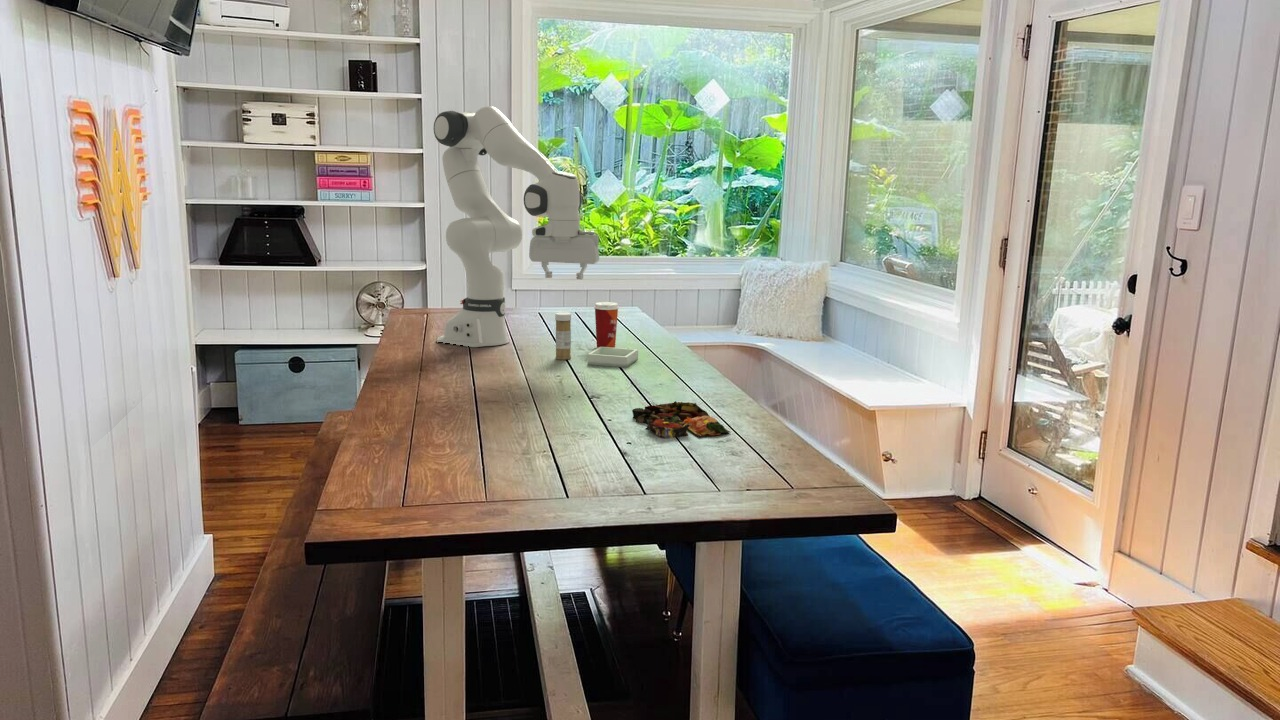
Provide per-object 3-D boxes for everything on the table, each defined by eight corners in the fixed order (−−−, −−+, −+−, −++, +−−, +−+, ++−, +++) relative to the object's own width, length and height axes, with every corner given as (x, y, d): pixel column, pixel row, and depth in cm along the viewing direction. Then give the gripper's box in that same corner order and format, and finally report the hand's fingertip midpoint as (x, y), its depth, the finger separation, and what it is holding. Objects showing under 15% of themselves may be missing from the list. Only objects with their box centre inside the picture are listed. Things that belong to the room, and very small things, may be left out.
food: (622, 416, 212) (623, 401, 211) (696, 411, 219) (697, 397, 218) (657, 444, 192) (658, 428, 191) (738, 438, 199) (739, 422, 198)
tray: (587, 364, 263) (587, 354, 262) (600, 356, 274) (600, 346, 273) (626, 367, 260) (626, 357, 259) (637, 359, 271) (638, 349, 270)
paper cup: (617, 351, 282) (618, 305, 279) (592, 350, 282) (593, 305, 279) (618, 346, 290) (619, 301, 287) (594, 345, 290) (594, 301, 287)
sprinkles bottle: (567, 356, 273) (567, 311, 270) (573, 359, 269) (573, 314, 266) (553, 357, 271) (553, 312, 268) (558, 360, 267) (558, 314, 264)
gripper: (602, 230, 262) (602, 278, 265) (535, 228, 268) (535, 275, 270) (595, 231, 256) (595, 281, 259) (526, 229, 262) (527, 278, 264)
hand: (564, 278), depth 265 cm, fingers open, 8 cm apart
